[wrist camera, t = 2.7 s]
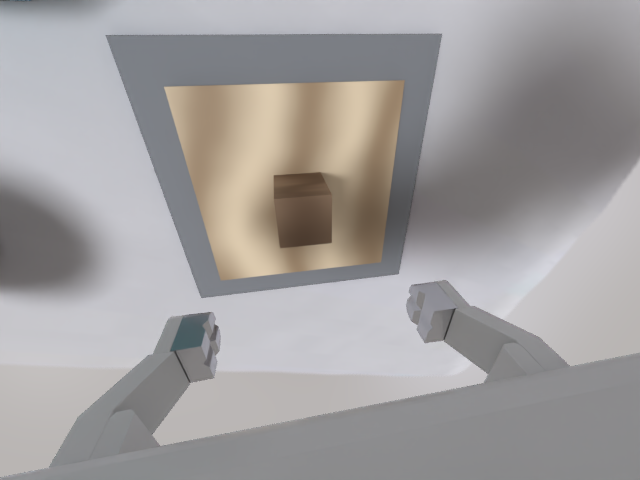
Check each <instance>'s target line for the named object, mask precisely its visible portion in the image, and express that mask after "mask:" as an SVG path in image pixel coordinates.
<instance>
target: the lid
mask: <svg viewBox="0 0 640 480" xmlns="http://www.w3.org/2000/svg"><path fill="white" fill-rule="evenodd" d="M404 82H405V80H390V81H353V82H316V83H278V84H241V85H204V86H168V87H164V89H165V92H166V95H167V99H168V102H169V106H170V109H171V112H172V116H173V119H174V123H175V126H176V129H177V133H178V136H179V140H180V143H181V146H182V150H183V153H184V157H185V160H186V163H187V167H188V170H189V174H190V177H191V181H192V184H193V187H194V191H195V194H196V198H197V201H198V204H199V208H200V211H201V215H202V218H203V221H204V225H205V228H206V232H207V235H208V238H209V242H210V245H211V249H212V252H213V255H214V259H215V262H216V266H217V269H218V272H219V276H220V279H221V281H222V280H231V279H239V278H248V277H257V276H266V275H274V274H283V273H292V272H300V271H309V270H318V269H327V268H335V267H344V266H353V265H361V264H370V263H379V262H381V259H382V251H383V243H384V236H385V228H386V220H387V213H388V205H389V197H390V190H391V182H392V174H393V167H394V159H395V151H396V144H397V136H398V128H399V121H400V113H401V105H402V98H403V90H404Z"/></svg>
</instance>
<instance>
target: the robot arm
mask: <svg viewBox="0 0 640 480" xmlns="http://www.w3.org/2000/svg"><path fill="white" fill-rule="evenodd" d="M409 293H410V295H411V296H410V297H409V298H408V299H407V304H406V307H407V313H408V315H409V318H410V319H411V321H412V322H413V323H415V324H417V325H418V326H417V331H418V333H419V334H420V336H421V338H422V339H423V341H424V343H429V342H436V341H443V340H444V342H446V343H447V344H448V345H450V346H451V347H452V348H454V349H455V350H456V351H458V352H459V353H460V354H462V355H463V356H465V357H466V358H467V359H469V360H470V361H471V362H473V363H474V364H475V365H477V366H478V367H480V368H481V369H482V370H484V371H485V372H486V373H487V374H488V375H487V377H486V379H485V381H484V383H482V384H477V385H472V386H467V387H462V388H456V389H451V390H446V391H441V392H436V393H431V394H426V395H420V396H415V397H411V398H405V399H400V400H395V401H390V402H384V403H379V404H374V405H370V406H365V407H359V408H354V409H349V410H344V411H339V412H333V413H328V414H323V415H318V416H313V417H308V418H303V419H298V420H293V421H287V422H282V423H277V424H272V425H267V426H261V427H256V428H251V429H246V430H241V431H236V432H231V433H225V434H220V435H215V436H210V437H205V438H200V439H195V440H189V441H184V442H179V443H174V444H169V445H164V446H160V445H159V443H158V442H157V441H156V440H155V438H154V437H153V436H152V434H153V433H154V432H155V430H156V429H157V428H158V426H159V425H160V424H161V422H162V421H163V420H164V418H165V417H166V416H167V414H168V413H169V412H170V410H171V409H172V408H173V406H174V405H175V404H176V402H177V401H178V400H179V398H180V397H181V396H182V394H183V393H184V392H185V390H186V389H187V388H188V386H189V385H190V383H191V382H197V381H202V380H207V379H212V378H214V376H215V371H216V366H217V359H216V357H215V355H216V354H217V353H218V352H219V350H220V340H221V336H220V330H219V327H218V326H217V325H215V320H216V318H215V316H214V313H213V312H207V313H198V314H189V315H183V316H174V317H170V318H169V319H168V321H167V323H166V325H165V328H164V330H163V332H162V334H161V337H160V339H159V341H158V344H157V346H156V348H155V350H154V353H153V354H152V355H148V356H147V357H146V358H145V359H143V360H142V361H141V362H140V363H139V364H138V365H137V366H135V367H134V368H133V369H132V370H131V371H130V372H129V373H128V374H126V375H125V376H124V377H123V378H122V379H121V380H120V381H118V382H117V383H116V384H115V385H114V386H113V387H112V388H111V389H110V390H108V391H107V392H106V393H105V394H104V395H103V396H101V397H100V398H99V399H98V400H97V401H96V402H95V403H93V404H92V405H91V406H90V407H89V408H88V409H87V410H85V411H84V412H83V413H82V414H81V415H80V416H79V417H78V418H77V420H76V422H75V423H74V425H73V427H72V428H71V430H70V432H69V434H68V435H67V437H66V439H65V440H64V442H63V444H62V446H61V447H60V449H59V451H58V452H57V454H56V456H55V457H54V459H53V461H52V463H51V464H50V466H49V468H45V469H40V470H35V471H29V472H24V473H19V474H14V475H9V476H4V477H0V480H640V353H636V354H631V355H626V356H621V357H616V358H611V359H605V360H600V361H595V362H590V363H585V364H580V365H575V366H570V365H568V364H567V363H566V362H565V361H564V360H563V359H562V358H561V357H560V356H559V355H558V354H557V353H556V352H555V351H554V350H553V349H551V348H550V347H549V346H548V345H547V344H546V343H545V342H544V341H543V340H542V339H541V338H539V337H538V336H536V335H534V334H532V333H529V332H527V331H525V330H523V329H521V328H519V327H517V326H515V325H513V324H510V323H509V322H506V321H504V320H502V319H500V318H498V317H496V316H494V315H492V314H490V313H488V312H486V311H483V310H481V309H479V308H477V307H475V306H470V305H469V304H468V303H467V302H466V301H465V300H464V299H463V297H462V296H461V295H460V294H459V293H458V292H457V291H456V290H455V289H454V288H453V286H452V285H451V284H450V283H449V282H448V281H446V280H442V281H435V282H429V283H422V284H415V285H411V287H410V289H409Z"/></svg>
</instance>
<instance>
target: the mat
mask: <svg viewBox="0 0 640 480" xmlns="http://www.w3.org/2000/svg"><path fill="white" fill-rule="evenodd" d="M106 37H107V40H108V43H109V46H110V48H111V51H112V54H113V57H114V59H115V62H116V65H117V68H118V70H119V73H120V76H121V79H122V81H123V84H124V87H125V90H126V92H127V95H128V98H129V101H130V103H131V106H132V109H133V112H134V114H135V117H136V120H137V123H138V125H139V128H140V131H141V134H142V136H143V139H144V142H145V145H146V147H147V150H148V153H149V156H150V158H151V161H152V164H153V167H154V169H155V172H156V175H157V178H158V180H159V183H160V186H161V189H162V191H163V194H164V197H165V200H166V202H167V205H168V208H169V211H170V213H171V216H172V219H173V222H174V224H175V227H176V230H177V233H178V235H179V238H180V241H181V244H182V246H183V249H184V252H185V255H186V257H187V260H188V263H189V266H190V268H191V271H192V274H193V277H194V279H195V282H196V285H197V288H198V290H199V293H200V296H201V298H206V297H214V296H222V295H231V294H239V293H247V292H255V291H263V290H272V289H280V288H288V287H296V286H305V285H313V284H321V283H329V282H338V281H346V280H354V279H362V278H371V277H379V276H387V275H395V274H399V269H400V264H401V258H402V253H403V247H404V241H405V236H406V230H407V225H408V219H409V214H410V208H411V203H412V197H413V192H414V186H415V181H416V175H417V170H418V164H419V159H420V153H421V147H422V142H423V136H424V131H425V125H426V120H427V114H428V109H429V103H430V98H431V92H432V87H433V81H434V76H435V70H436V65H437V59H438V54H439V48H440V42H441V37H442V34H285V35H106ZM390 80H405V82H404V90H403V98H402V105H401V113H400V121H399V128H398V136H397V144H396V151H395V159H394V167H393V174H392V182H391V190H390V197H389V205H388V213H387V220H386V228H385V236H384V243H383V251H382V259H381V262H379V263H370V264H361V265H353V266H344V267H335V268H327V269H318V270H309V271H300V272H292V273H283V274H274V275H266V276H257V277H248V278H239V279H231V280H222V281H221V279H220V276H219V272H218V269H217V266H216V262H215V259H214V255H213V252H212V249H211V245H210V242H209V238H208V235H207V232H206V228H205V225H204V221H203V218H202V215H201V211H200V208H199V204H198V201H197V198H196V194H195V191H194V187H193V184H192V181H191V177H190V174H189V170H188V167H187V163H186V160H185V157H184V153H183V150H182V146H181V143H180V140H179V136H178V133H177V129H176V126H175V123H174V119H173V116H172V112H171V109H170V106H169V102H168V99H167V95H166V92H165V89H164V87H168V86H204V85H241V84H278V83H316V82H353V81H390Z"/></svg>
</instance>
